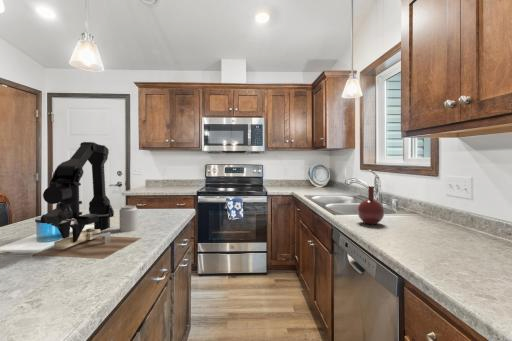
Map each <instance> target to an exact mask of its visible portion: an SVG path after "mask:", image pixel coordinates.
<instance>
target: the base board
mask: <svg viewBox="0 0 512 341" xmlns="http://www.w3.org/2000/svg"><path fill="white" fill-rule="evenodd" d="M92 229H93V228H86V229H85V230H86V232H92ZM141 239H142V237H129V236H111V235H110V243H108V244H103V243H102V236H99V237H96V238H93V239H91V240H85V241H83V242H80V243H78V244H75V245H73V246H70V247H68V248H65V249H54V246H51V247H49V248H46V249H43V250H42V251H39V252H36V253H34V254H33V253H32V256H31V257H32V258H33V257H36V256H45V257H47V256H48V257H61V258H62V257H65V258H66V257H67V258H81V259H82V258H83V259H99V260H104V259H106V258H108V257H109V256H111V255H113V254H115V253H117V252H118V251H121V250H122V249H125V248H126V247H128V246H130V245H131V244H134V243H136V242H137V241H139V240H141Z"/></svg>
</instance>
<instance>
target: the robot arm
mask: <svg viewBox="0 0 512 341" xmlns="http://www.w3.org/2000/svg"><path fill="white" fill-rule="evenodd" d="M79 145H80V146H79V147H78V148H77V150H76V151H75V152H74V153H73V154H72V156H70V159H68V160H65V161H63V162H61V163H60V164H58V165H57V166H56V168H55V169H54V171H53V174H52V177H51V180H50V181H49V186H48V187H47V188H46V189H45V190H44V191H43V193H42V198H43V200H44V201H45V202H46V203H47V204H50V205H55V206H56V207H55V208H54V209H52V210H50V211H48V212H47V213H45V214H42V215H41V217H40V224H47V225H51V226H52V227H55V228H56V229H57V230H58V231H59V233H60V235H61V237H62V239H64V238H67V237H70V232H71V230H72V233H71V234H72V235H73V242H76V241H77V240H78V238H79V236H80V234H81V232H82V231H84V229H85V227H86V225H87V226H88V225H89V226H90V225H92V224H93V227H94V228H93V229H100V231H101V232H103V231H106V230H107V229H110V228H111V222H110V221H111V218H113V217H114V215H115V211H114V209H113V207H112V204H111V201H110V199H109V197H108V196H107V195H106V181H105V180H106V177H105V163H106V162H107V161H108V158H109V156H108V155H109V152H110V151H109V148H108V147H106V145H104V144H103V145H102V144H98V143H96V142H93V141H83V142H81V143H80V144H79ZM87 162H89V163H90V165H91V174H92V176H91V177H92V193H93V196H92V199H91V200H90V201H89V203H88V205H89V207H88V212H89V213H86V214H83V211H80V205H83V201H82V200H80V186H82V183H81V182H80V181H81V179H82V177H83V175H84V169H83V168H84V166H85V165H86V163H87ZM72 222H73V223H72Z"/></svg>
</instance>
